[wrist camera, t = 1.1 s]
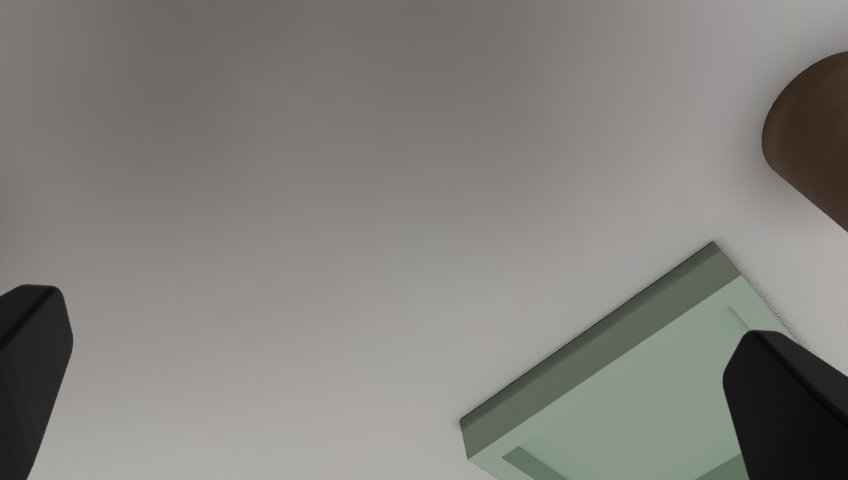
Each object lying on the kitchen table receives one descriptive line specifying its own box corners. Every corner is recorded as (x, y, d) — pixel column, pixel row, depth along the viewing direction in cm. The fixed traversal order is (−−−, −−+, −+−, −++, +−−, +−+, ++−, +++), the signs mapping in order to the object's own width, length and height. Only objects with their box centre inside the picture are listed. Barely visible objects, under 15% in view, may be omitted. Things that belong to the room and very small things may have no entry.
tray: (616, 525, 35) (631, 562, 33) (459, 420, 29) (467, 459, 27) (840, 395, 31) (870, 430, 29) (713, 241, 25) (741, 274, 23)
